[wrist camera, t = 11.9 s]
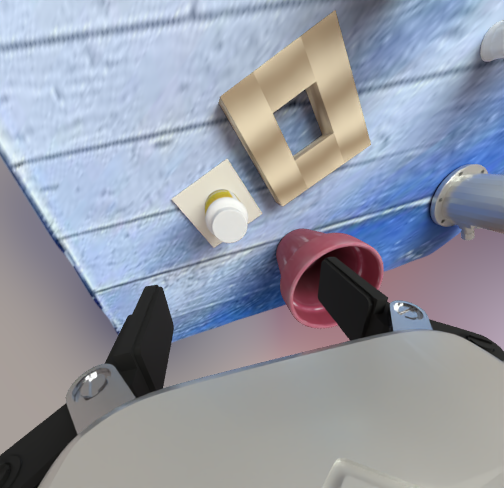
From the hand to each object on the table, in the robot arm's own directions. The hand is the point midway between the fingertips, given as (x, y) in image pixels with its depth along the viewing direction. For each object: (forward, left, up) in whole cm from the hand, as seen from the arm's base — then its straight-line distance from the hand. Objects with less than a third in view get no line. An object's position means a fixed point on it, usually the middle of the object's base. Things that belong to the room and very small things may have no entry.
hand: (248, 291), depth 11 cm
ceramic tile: (0, 0, -22) cm, 22 cm away
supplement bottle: (0, 0, -22) cm, 22 cm away
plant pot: (-16, -7, -22) cm, 28 cm away
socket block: (+3, -16, -22) cm, 27 cm away
